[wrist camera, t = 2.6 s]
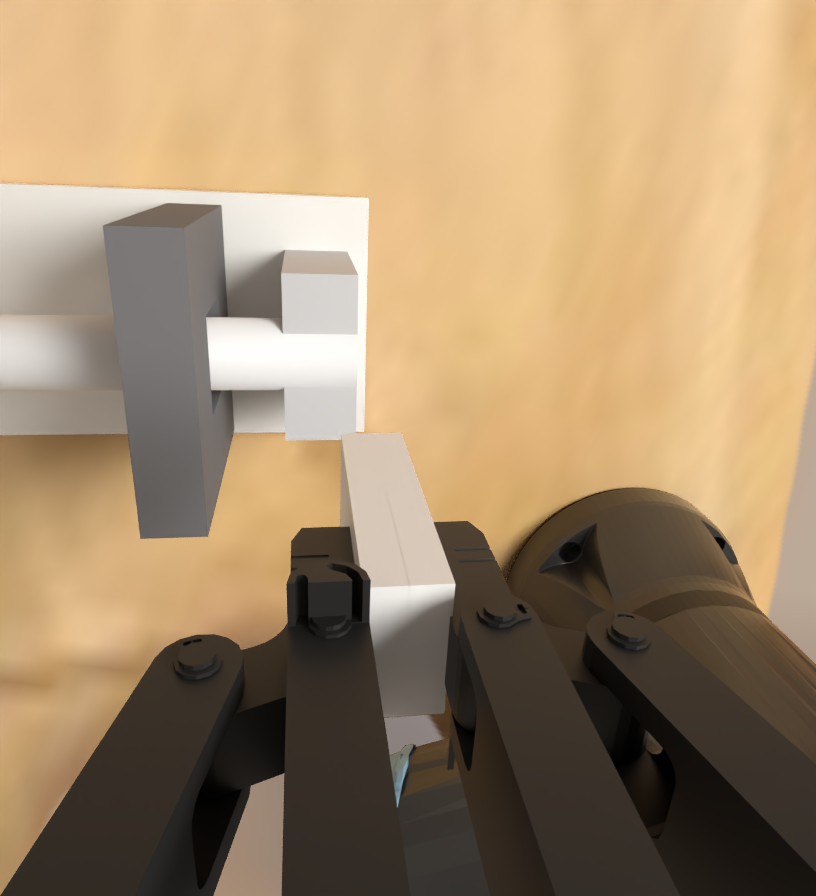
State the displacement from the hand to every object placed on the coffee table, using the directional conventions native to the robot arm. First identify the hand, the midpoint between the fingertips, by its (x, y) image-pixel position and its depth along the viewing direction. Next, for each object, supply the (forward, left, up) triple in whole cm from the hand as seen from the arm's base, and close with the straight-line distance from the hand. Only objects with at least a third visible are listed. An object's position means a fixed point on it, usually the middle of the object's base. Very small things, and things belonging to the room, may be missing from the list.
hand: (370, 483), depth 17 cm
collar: (+6, 0, -19) cm, 20 cm away
